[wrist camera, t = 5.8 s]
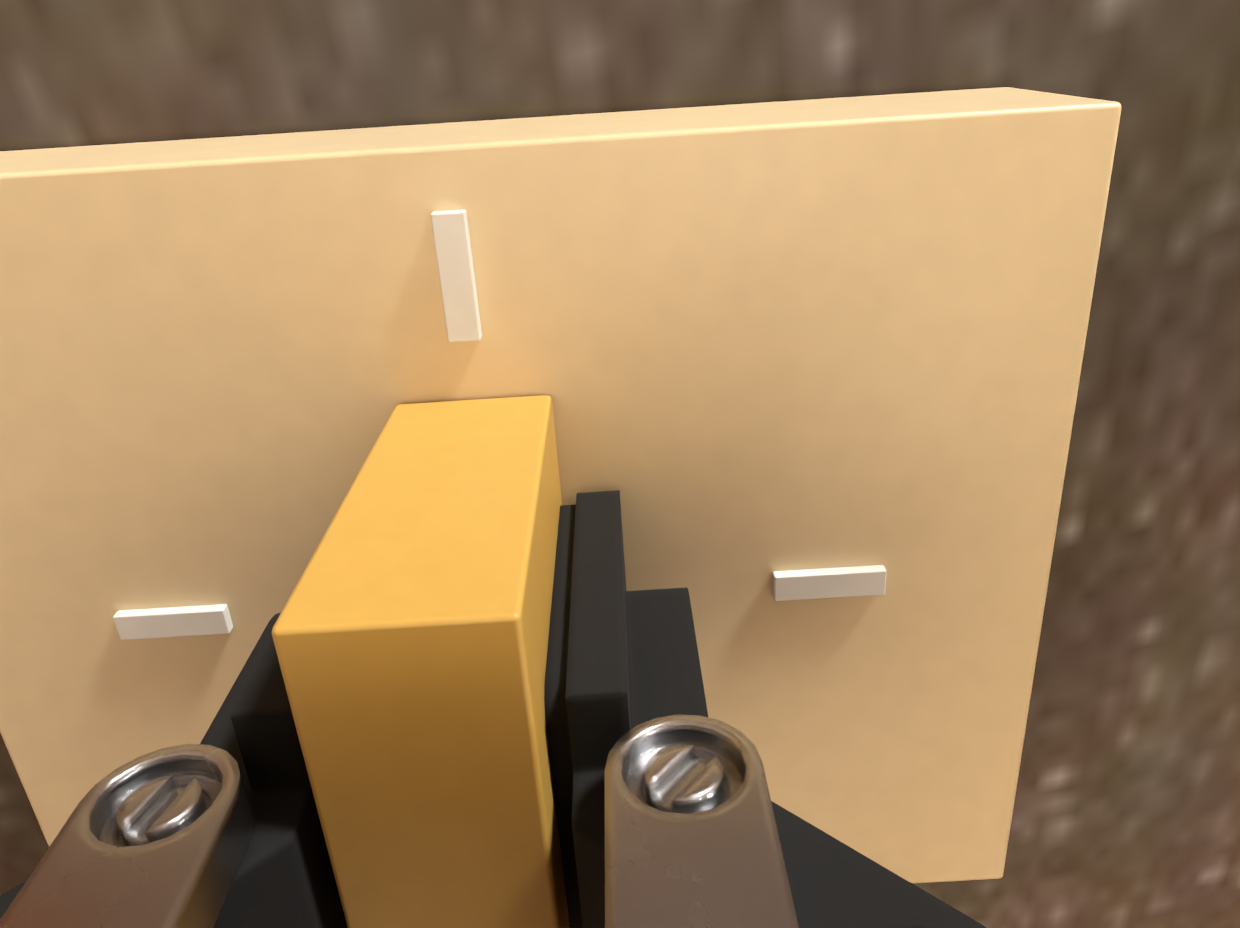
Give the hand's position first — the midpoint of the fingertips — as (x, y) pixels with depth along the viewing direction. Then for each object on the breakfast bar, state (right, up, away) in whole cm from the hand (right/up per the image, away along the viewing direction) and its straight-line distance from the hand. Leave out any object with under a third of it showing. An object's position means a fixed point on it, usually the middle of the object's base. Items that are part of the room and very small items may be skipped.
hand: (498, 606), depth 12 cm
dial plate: (0, +1, +3) cm, 3 cm away
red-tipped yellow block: (0, 0, 0) cm, 0 cm away
